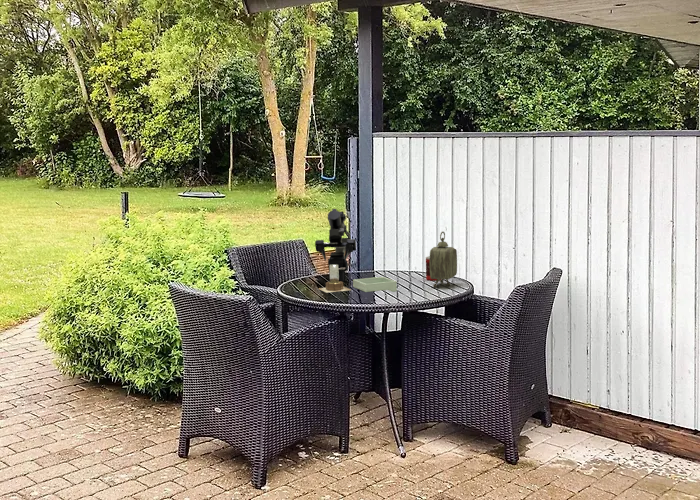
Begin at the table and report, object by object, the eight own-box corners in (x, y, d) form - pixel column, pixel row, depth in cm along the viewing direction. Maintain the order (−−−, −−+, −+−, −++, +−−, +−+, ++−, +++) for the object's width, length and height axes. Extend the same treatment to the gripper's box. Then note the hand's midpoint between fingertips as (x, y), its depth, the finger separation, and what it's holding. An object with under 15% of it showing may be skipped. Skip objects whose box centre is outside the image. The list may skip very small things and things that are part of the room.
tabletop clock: (439, 282, 364) (438, 229, 361) (458, 283, 361) (457, 230, 358) (430, 288, 351) (428, 233, 348) (449, 289, 348) (448, 233, 345)
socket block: (342, 288, 358) (342, 279, 357) (351, 292, 347) (351, 283, 346) (317, 290, 354) (317, 281, 353) (326, 295, 343) (326, 285, 342)
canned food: (444, 278, 376) (444, 256, 375) (439, 281, 369) (438, 258, 368) (429, 277, 379) (428, 255, 378) (423, 280, 372) (423, 257, 371)
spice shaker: (337, 287, 353) (337, 263, 352) (341, 289, 349) (340, 265, 347) (327, 288, 351) (327, 264, 350) (331, 290, 347) (330, 266, 346)
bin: (383, 286, 360) (383, 276, 360) (396, 291, 346) (396, 281, 346) (353, 289, 355) (352, 279, 354) (365, 294, 341) (365, 284, 340)
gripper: (314, 222, 360) (313, 249, 350) (354, 221, 359) (354, 248, 349) (316, 237, 368) (315, 264, 359) (356, 236, 367) (355, 263, 358)
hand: (335, 259), depth 356 cm, fingers open, 9 cm apart
